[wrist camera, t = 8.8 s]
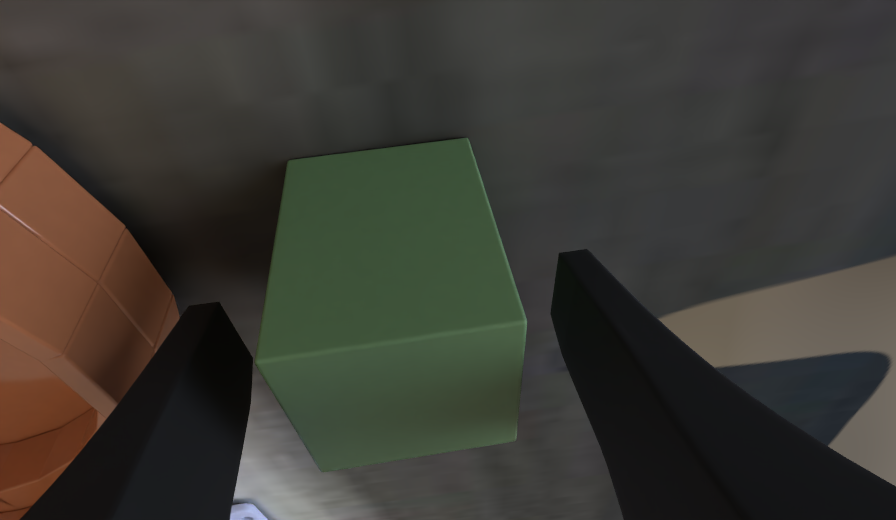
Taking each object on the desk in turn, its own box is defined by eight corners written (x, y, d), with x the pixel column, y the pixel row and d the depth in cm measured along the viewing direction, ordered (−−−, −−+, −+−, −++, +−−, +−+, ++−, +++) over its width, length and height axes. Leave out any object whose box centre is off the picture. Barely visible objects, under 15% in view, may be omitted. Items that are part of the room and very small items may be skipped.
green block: (472, 262, 14) (517, 441, 10) (329, 282, 14) (320, 474, 10) (468, 136, 11) (528, 321, 8) (286, 159, 11) (252, 363, 7)
